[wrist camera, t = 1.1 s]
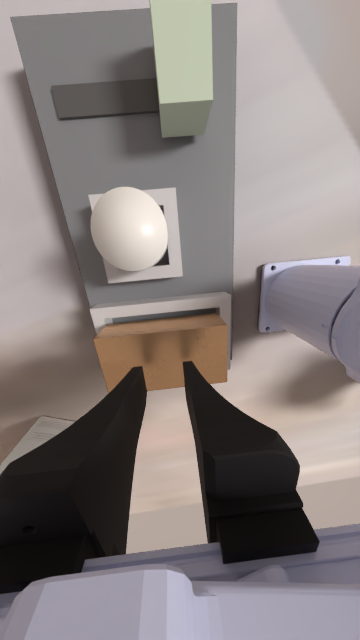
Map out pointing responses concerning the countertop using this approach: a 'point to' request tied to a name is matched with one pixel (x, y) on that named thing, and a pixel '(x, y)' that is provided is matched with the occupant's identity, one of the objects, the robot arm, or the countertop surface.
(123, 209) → the off-white button
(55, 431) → the supplement box
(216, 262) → the switch panel
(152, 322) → the brown rectangular block
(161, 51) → the pale green block
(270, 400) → the countertop surface
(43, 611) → the robot arm
